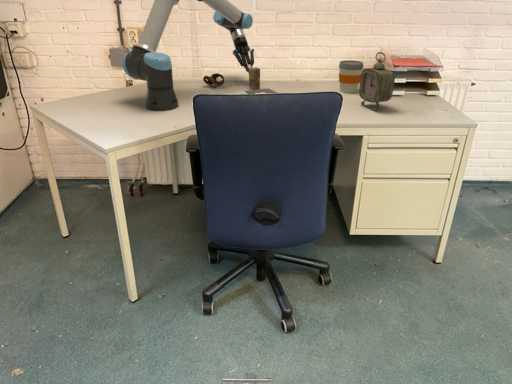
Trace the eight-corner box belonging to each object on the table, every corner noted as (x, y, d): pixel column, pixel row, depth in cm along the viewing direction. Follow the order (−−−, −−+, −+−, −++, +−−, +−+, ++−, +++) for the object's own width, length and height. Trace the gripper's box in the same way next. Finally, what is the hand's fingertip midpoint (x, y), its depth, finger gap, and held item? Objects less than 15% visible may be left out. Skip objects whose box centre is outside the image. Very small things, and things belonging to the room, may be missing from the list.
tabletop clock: (357, 104, 195) (364, 50, 183) (372, 102, 198) (380, 49, 186) (374, 112, 183) (383, 55, 171) (391, 110, 186) (401, 54, 174)
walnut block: (252, 90, 218) (252, 69, 213) (249, 88, 222) (249, 67, 216) (259, 89, 220) (260, 68, 214) (256, 87, 223) (256, 67, 218)
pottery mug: (223, 85, 230) (226, 74, 223) (221, 96, 224) (224, 85, 218) (202, 79, 228) (205, 68, 221) (200, 91, 222) (202, 79, 216)
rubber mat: (253, 96, 207) (253, 95, 206) (245, 91, 215) (245, 90, 215) (277, 93, 212) (277, 92, 212) (268, 89, 221) (268, 88, 220)
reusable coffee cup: (335, 93, 214) (338, 64, 207) (337, 87, 225) (340, 59, 218) (359, 94, 211) (363, 65, 204) (360, 89, 222) (363, 61, 215)
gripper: (248, 43, 234) (260, 79, 228) (227, 45, 229) (238, 80, 223) (252, 35, 227) (264, 71, 221) (230, 36, 222) (242, 73, 216)
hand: (251, 76), depth 222 cm, fingers closed
